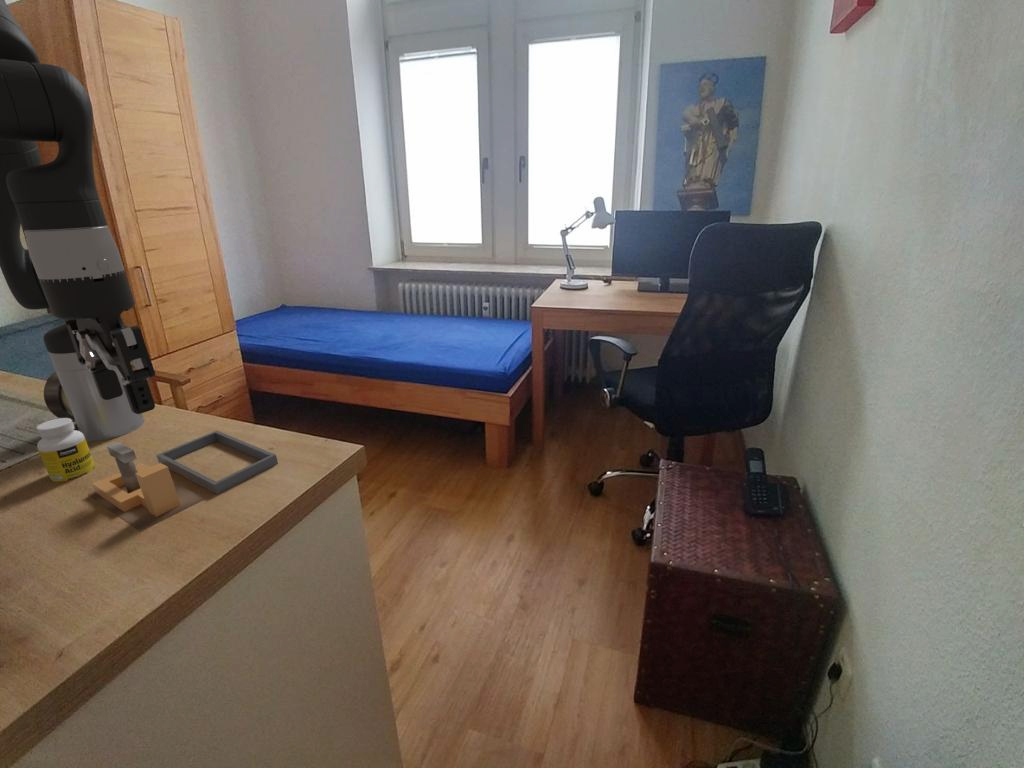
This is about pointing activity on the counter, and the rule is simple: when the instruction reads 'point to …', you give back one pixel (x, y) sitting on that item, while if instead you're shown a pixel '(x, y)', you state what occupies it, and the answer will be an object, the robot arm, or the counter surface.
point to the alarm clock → (57, 399)
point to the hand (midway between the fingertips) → (128, 404)
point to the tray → (227, 482)
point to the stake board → (143, 512)
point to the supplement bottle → (64, 450)
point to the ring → (141, 490)
